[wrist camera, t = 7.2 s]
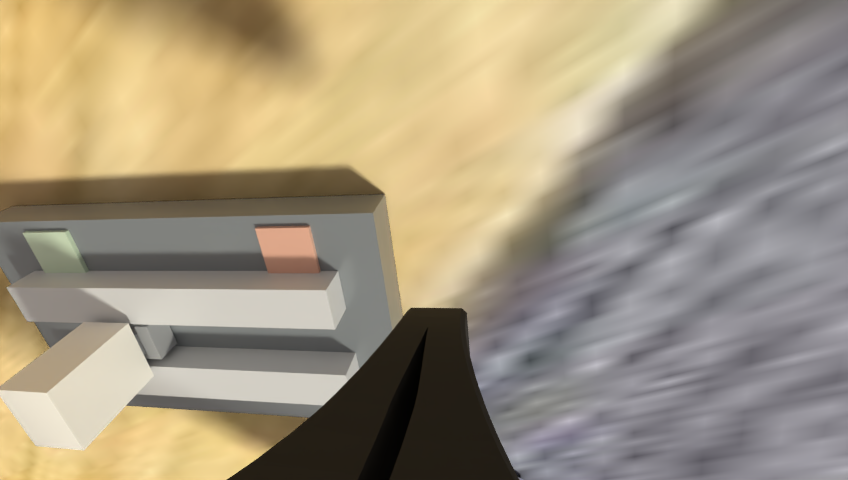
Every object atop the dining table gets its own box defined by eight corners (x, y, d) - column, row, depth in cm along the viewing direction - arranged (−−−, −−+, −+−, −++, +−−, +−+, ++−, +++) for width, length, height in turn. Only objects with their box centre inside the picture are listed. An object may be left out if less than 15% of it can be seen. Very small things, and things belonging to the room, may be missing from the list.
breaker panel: (384, 194, 20) (362, 229, 17) (414, 394, 25) (401, 449, 22) (13, 206, 23) (-61, 237, 20) (108, 378, 29) (62, 422, 26)
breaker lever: (158, 301, 22) (53, 393, 17) (181, 352, 24) (90, 450, 18) (106, 300, 23) (-11, 389, 18) (131, 350, 24) (29, 445, 19)
